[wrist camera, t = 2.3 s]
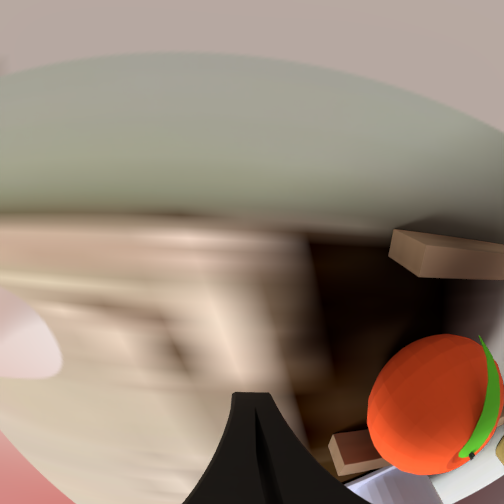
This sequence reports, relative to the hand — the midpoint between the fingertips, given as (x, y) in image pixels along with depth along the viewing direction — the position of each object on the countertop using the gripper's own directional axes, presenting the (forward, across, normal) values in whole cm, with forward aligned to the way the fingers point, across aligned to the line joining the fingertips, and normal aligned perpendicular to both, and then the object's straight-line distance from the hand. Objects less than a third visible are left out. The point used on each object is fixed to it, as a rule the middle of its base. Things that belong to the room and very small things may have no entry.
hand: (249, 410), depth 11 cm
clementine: (+3, -9, 0) cm, 9 cm away
